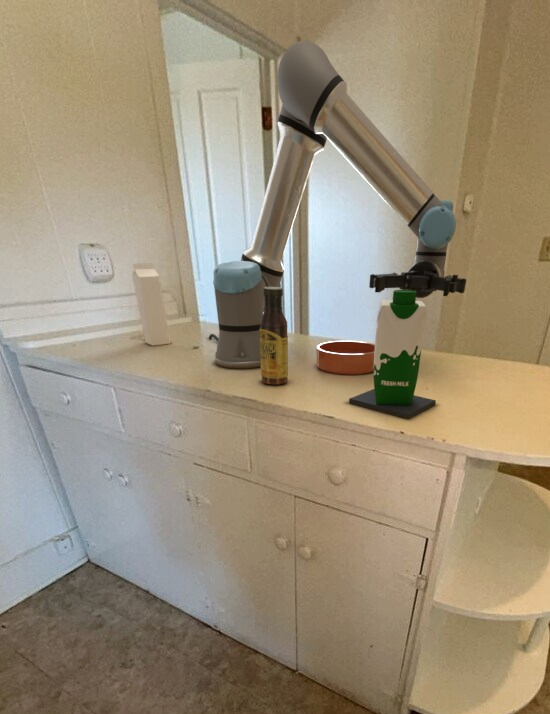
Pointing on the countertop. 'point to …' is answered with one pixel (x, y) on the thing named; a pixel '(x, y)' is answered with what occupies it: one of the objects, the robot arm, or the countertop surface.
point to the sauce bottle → (273, 339)
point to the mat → (398, 410)
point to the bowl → (346, 357)
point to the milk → (150, 304)
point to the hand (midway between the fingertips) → (411, 286)
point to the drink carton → (398, 348)
